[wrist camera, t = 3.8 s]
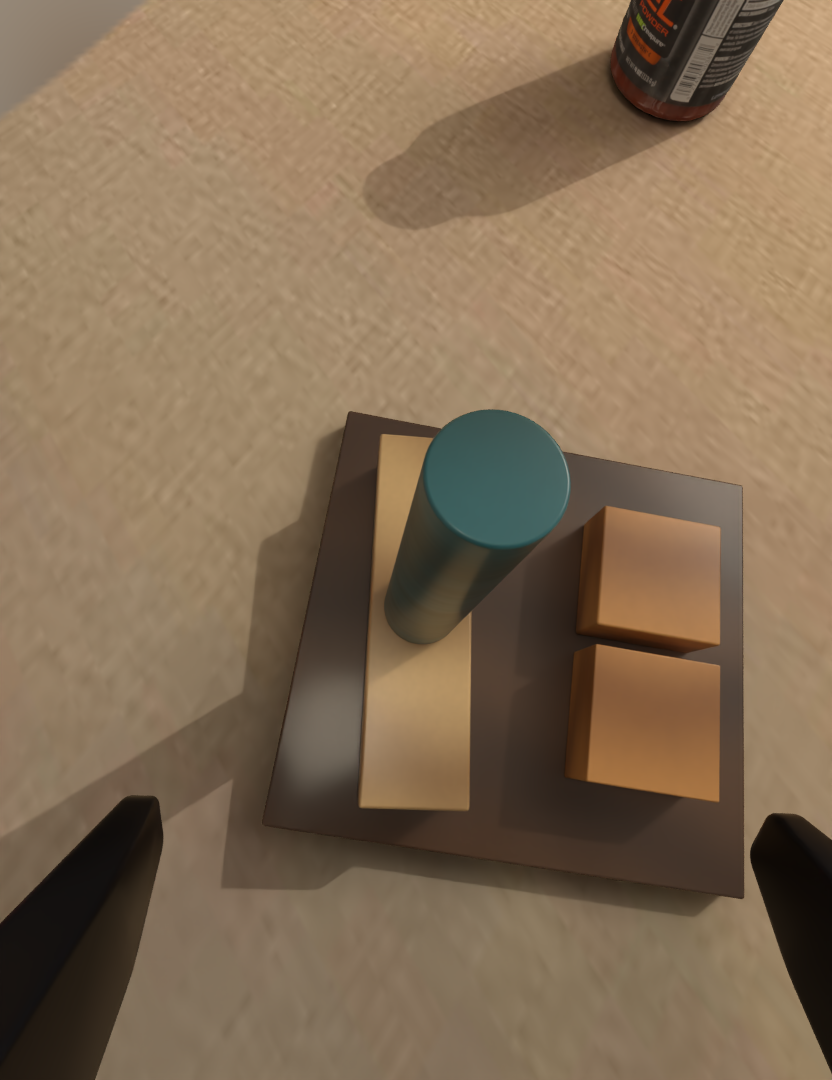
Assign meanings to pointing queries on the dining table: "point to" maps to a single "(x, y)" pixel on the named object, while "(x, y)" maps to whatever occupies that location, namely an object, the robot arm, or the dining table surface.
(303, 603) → the dining table surface
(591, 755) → the brown wooden square block
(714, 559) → the wooden square block
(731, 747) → the shelf board
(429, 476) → the brush
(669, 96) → the supplement bottle
